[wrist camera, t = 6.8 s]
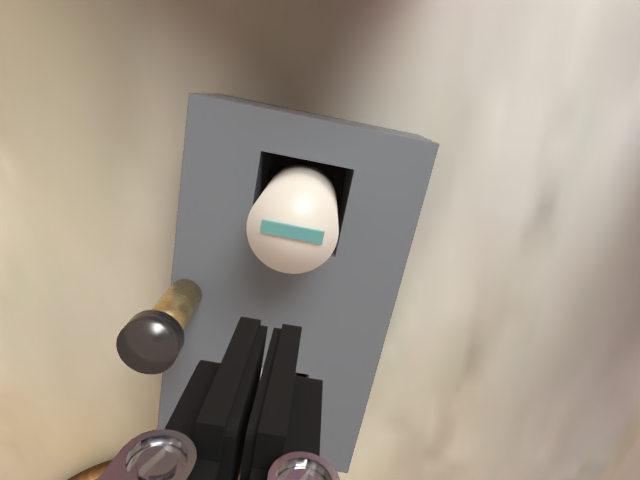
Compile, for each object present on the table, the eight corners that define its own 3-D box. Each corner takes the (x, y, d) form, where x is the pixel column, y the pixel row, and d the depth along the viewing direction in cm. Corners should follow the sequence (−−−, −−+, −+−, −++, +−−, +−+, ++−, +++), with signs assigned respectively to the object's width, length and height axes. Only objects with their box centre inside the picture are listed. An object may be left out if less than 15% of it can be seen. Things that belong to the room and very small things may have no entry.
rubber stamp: (212, 276, 27) (179, 327, 21) (207, 318, 28) (174, 378, 22) (163, 267, 27) (117, 316, 21) (160, 310, 28) (115, 368, 22)
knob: (343, 172, 26) (347, 196, 20) (328, 240, 28) (328, 282, 21) (271, 157, 26) (252, 177, 20) (260, 226, 27) (239, 266, 21)
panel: (418, 135, 30) (439, 144, 24) (344, 415, 37) (347, 473, 32) (216, 93, 29) (189, 92, 24) (183, 386, 37) (156, 440, 31)
